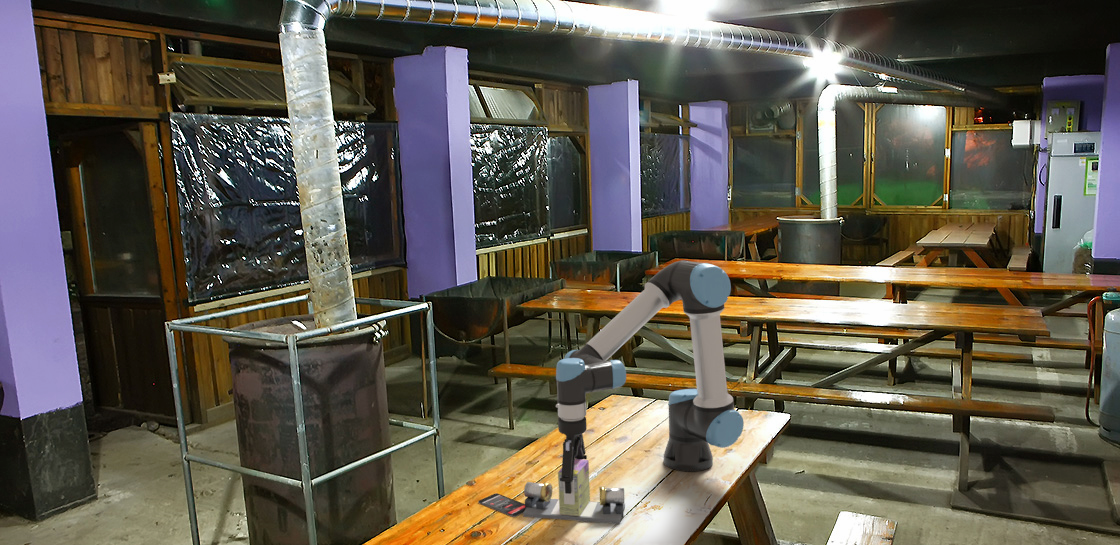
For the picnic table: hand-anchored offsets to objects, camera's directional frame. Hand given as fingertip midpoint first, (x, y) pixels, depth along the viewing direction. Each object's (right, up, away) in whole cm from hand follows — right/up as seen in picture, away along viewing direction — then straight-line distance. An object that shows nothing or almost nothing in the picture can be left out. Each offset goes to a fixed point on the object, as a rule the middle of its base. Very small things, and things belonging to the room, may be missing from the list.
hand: (574, 493), depth 205 cm
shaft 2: (+10, -5, -1) cm, 11 cm away
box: (0, -4, +1) cm, 4 cm away
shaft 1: (-10, -5, +3) cm, 12 cm away
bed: (0, -5, +1) cm, 5 cm away
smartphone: (-19, -6, +6) cm, 21 cm away
